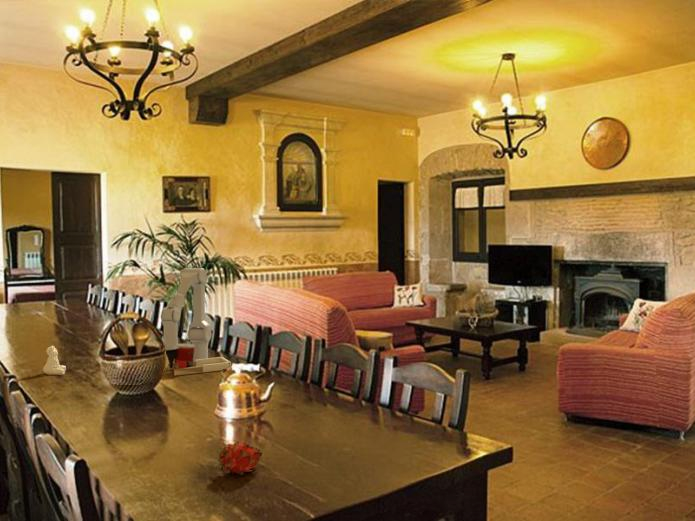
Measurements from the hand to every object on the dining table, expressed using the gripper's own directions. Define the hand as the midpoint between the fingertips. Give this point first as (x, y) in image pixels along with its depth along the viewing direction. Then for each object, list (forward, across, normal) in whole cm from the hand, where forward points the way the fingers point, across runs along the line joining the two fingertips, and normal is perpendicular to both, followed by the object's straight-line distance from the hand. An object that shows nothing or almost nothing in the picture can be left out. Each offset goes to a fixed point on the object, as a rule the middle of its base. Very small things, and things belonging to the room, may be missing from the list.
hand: (171, 367), depth 257 cm
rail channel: (+2, +6, 0) cm, 6 cm away
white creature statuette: (+3, -44, +24) cm, 50 cm away
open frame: (+2, +18, 0) cm, 18 cm away
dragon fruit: (+3, -8, -116) cm, 116 cm away
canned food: (+2, +5, 0) cm, 5 cm away
